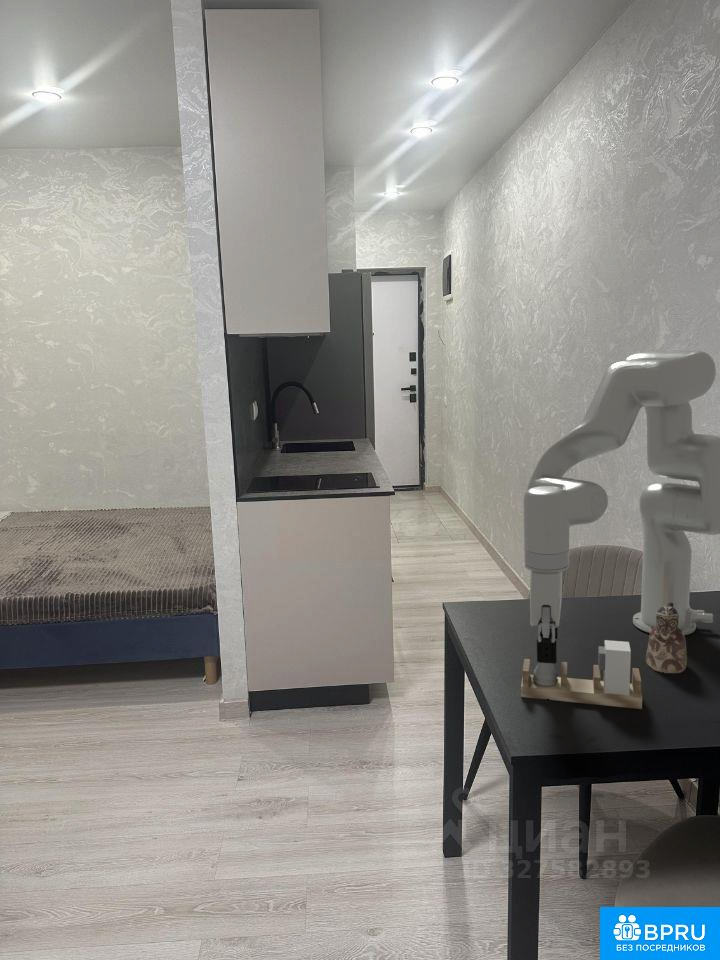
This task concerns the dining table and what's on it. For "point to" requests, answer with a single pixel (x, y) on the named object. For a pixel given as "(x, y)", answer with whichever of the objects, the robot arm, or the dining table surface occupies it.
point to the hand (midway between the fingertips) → (547, 649)
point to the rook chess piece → (545, 674)
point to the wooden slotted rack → (581, 689)
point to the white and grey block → (615, 666)
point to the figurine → (667, 643)
